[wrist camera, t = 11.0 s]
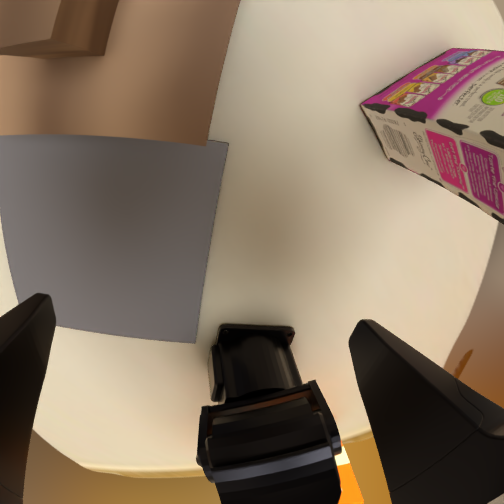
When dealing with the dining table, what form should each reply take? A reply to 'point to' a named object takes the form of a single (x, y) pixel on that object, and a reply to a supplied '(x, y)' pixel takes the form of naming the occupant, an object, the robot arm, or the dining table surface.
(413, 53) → the dining table surface
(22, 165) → the mat
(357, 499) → the orange juice
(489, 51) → the candy bar box
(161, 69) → the walnut lid
